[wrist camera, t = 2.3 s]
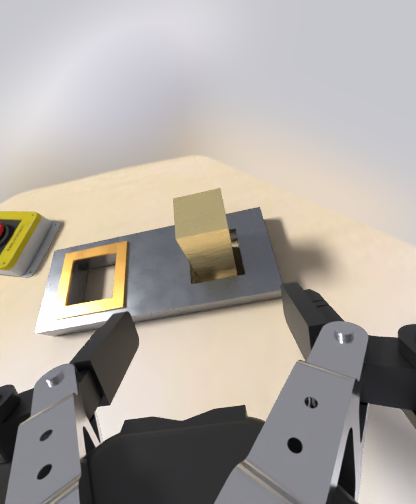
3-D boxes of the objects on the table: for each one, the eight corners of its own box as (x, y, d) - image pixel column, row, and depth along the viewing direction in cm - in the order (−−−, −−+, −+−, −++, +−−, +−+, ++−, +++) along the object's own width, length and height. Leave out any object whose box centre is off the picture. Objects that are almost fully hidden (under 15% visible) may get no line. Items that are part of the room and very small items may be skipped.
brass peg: (231, 246, 27) (220, 188, 18) (237, 277, 25) (228, 228, 17) (199, 253, 28) (173, 198, 19) (202, 284, 26) (175, 239, 17)
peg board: (259, 219, 28) (259, 205, 26) (281, 297, 23) (284, 288, 21) (68, 259, 31) (52, 249, 29) (53, 336, 26) (32, 332, 24)
